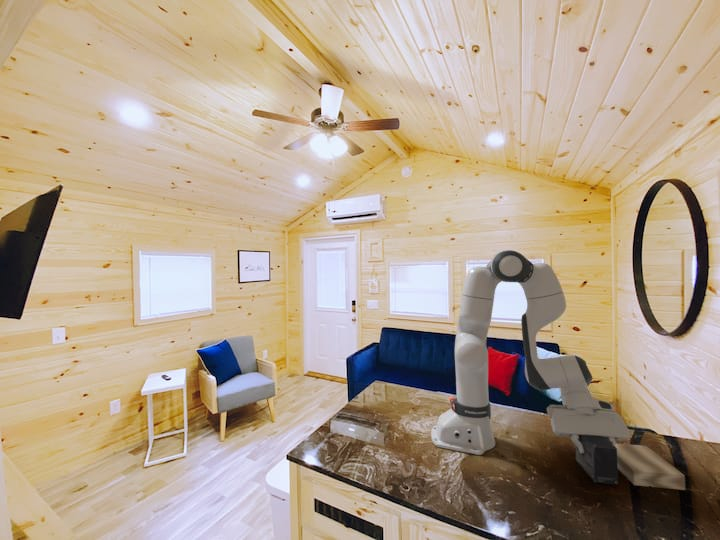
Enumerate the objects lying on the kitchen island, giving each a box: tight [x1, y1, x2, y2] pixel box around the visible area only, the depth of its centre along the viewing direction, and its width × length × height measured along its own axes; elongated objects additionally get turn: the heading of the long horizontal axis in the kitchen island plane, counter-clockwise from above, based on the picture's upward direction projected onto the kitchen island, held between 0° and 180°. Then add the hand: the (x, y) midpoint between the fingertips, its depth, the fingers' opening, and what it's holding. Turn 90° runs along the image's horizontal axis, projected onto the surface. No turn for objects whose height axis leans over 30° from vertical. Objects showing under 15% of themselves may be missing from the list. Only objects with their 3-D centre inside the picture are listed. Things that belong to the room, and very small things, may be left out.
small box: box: [575, 435, 619, 486], centre depth 88 cm, size 11×6×10 cm, turn 169°
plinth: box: [615, 443, 686, 491], centre depth 88 cm, size 12×14×4 cm
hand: (598, 454), depth 87 cm, fingers closed on small box, 6 cm apart
